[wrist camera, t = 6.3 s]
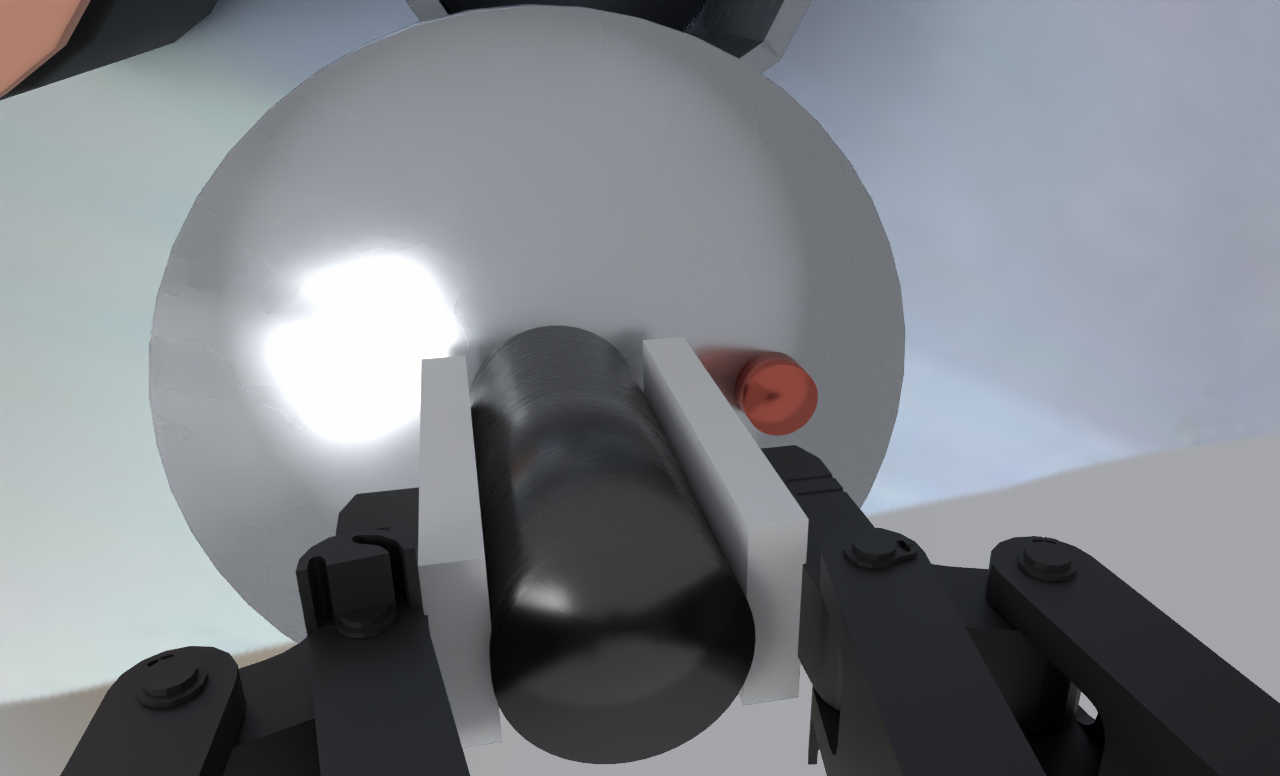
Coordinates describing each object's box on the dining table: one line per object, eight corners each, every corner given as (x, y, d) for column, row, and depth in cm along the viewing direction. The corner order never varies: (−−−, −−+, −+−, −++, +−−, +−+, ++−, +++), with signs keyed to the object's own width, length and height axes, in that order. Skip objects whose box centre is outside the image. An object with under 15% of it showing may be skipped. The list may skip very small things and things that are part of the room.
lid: (249, 673, 22) (128, 1151, 13) (105, 11, 17) (-264, 66, 8) (836, 594, 25) (1069, 954, 16) (879, -8, 19) (1277, 14, 10)
